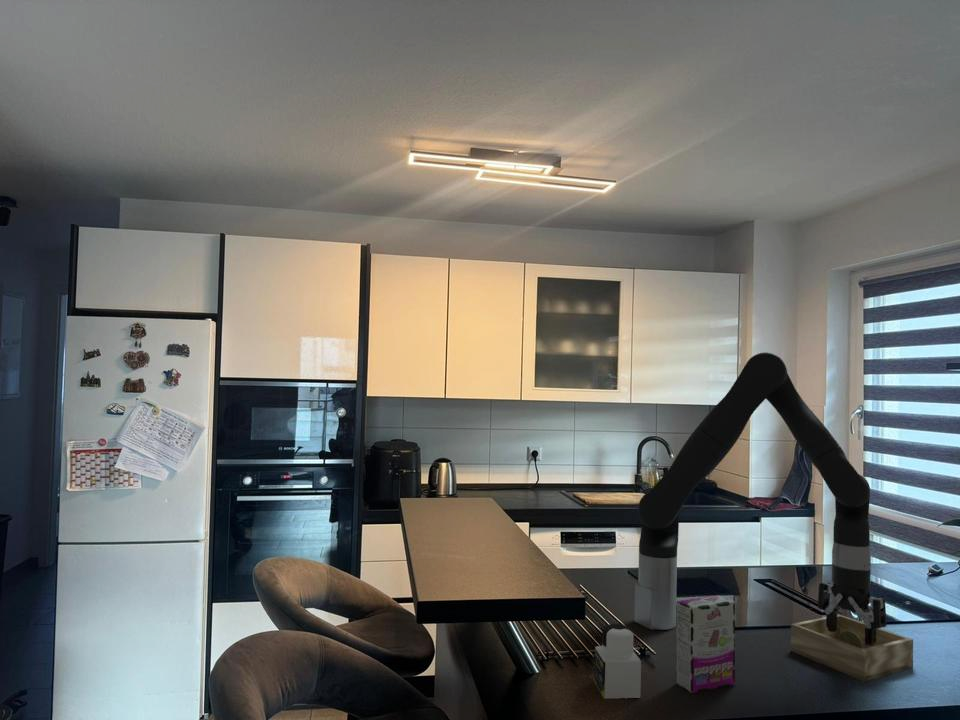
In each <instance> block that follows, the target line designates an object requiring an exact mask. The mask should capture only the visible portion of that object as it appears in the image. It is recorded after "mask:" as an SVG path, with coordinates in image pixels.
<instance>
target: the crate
mask: <svg viewBox="0 0 960 720" xmlns="http://www.w3.org/2000/svg"><path fill="white" fill-rule="evenodd" d="M865 628H866V625H865V624H864V622H863V621H860V620H857V619H853V618H852V617H848V616H846V615H845V616H844V615H842V614H840V613H839V614H837V631H835V632H830V631H828V628H827V626H826V616H824V617H820V618H814V619H809V620H805V621H799V622H795V623H791V624H790V652H791V653H795V654H798V655H799V656H802V657H804V658H807V659H809V660H811V661H814V662H816V663H819V664H821V665H823V666H825V667H828V668H830V669H833V670H835V671H838V672H840V673H843V674H845V675H847V676H850V677H851V678H855V679H857V680H860V681H862V682H863V683H866V682H868V681H872V680H876V679H879V678H882V677H886V676H889V675H893V674H896V673H900V672H903V671H906V670H909V669H913V668H914V639H913V638H910V637H906V636H904V635H901V634H898V633H895V632H893V631H890V630H887V629H883V628H877V629H876V643H874V645H871V646H868V645H865ZM844 631H851V632H854V633H856V634H857V635H858V636H859V638H860V639H861V641H862V649H861V648H858V647H856V646H853V645H850V644H848V643H845V642H842V641H840V640H837V637H838V636H839V634H840V633H841V632H844Z"/></svg>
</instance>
